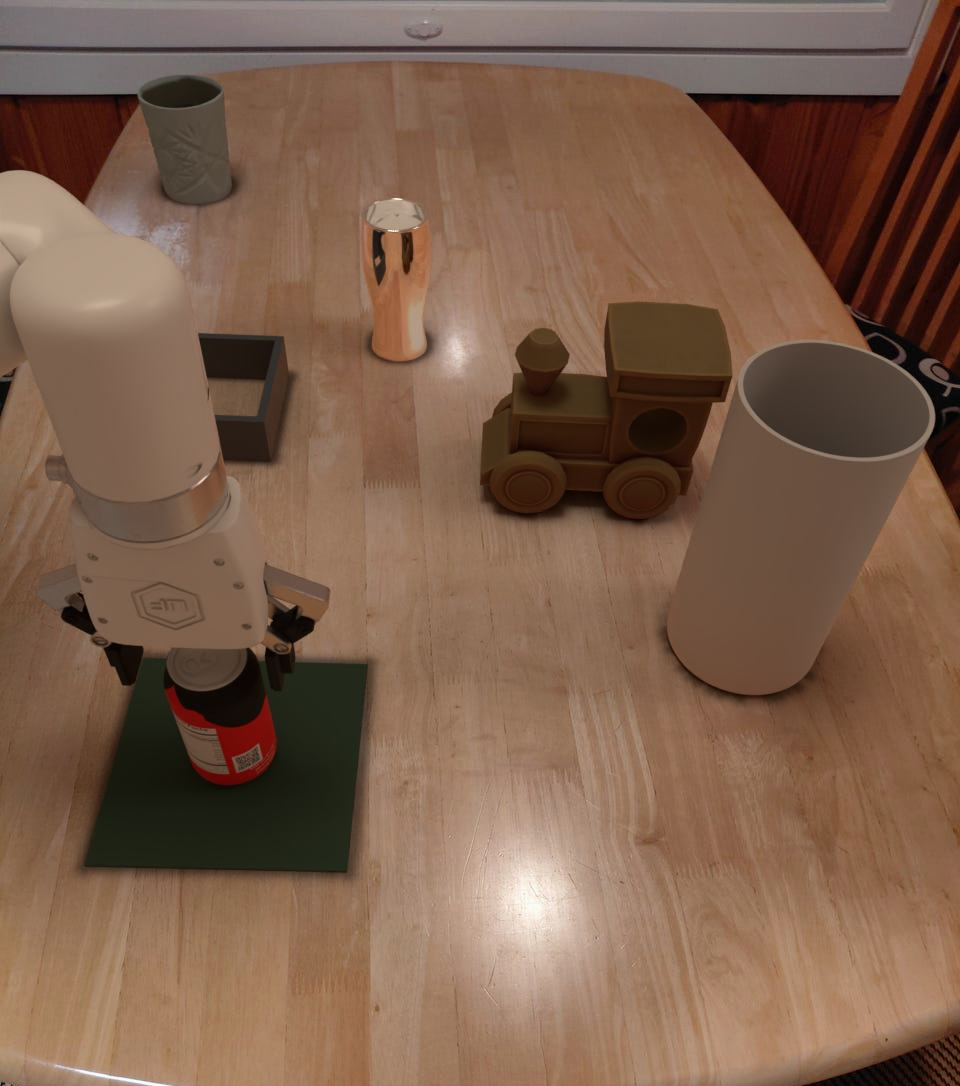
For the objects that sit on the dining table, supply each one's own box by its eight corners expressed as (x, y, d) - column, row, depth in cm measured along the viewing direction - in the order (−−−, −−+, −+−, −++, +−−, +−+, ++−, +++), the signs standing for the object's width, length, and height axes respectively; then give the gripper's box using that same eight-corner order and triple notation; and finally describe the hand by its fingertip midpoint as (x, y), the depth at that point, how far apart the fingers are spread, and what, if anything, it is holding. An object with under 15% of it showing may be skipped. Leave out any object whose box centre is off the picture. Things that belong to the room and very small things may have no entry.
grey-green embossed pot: (160, 210, 122) (137, 110, 112) (157, 172, 128) (135, 74, 118) (241, 204, 123) (226, 105, 114) (235, 167, 129) (220, 70, 120)
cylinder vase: (663, 577, 86) (732, 331, 66) (804, 592, 85) (915, 349, 66) (666, 691, 78) (744, 450, 58) (821, 707, 77) (953, 470, 58)
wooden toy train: (680, 448, 97) (719, 299, 84) (693, 529, 90) (737, 380, 77) (481, 438, 96) (489, 287, 83) (478, 518, 89) (486, 367, 76)
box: (129, 458, 93) (115, 416, 89) (159, 372, 101) (148, 330, 97) (271, 463, 93) (264, 421, 89) (289, 377, 101) (283, 335, 98)
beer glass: (380, 371, 103) (373, 237, 91) (358, 335, 107) (349, 203, 95) (440, 357, 105) (441, 224, 93) (417, 322, 109) (415, 191, 97)
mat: (85, 867, 66) (84, 865, 66) (144, 660, 78) (143, 657, 77) (347, 873, 67) (346, 871, 67) (367, 666, 78) (367, 663, 78)
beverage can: (293, 764, 72) (273, 668, 62) (215, 807, 69) (182, 713, 60) (254, 706, 75) (229, 606, 65) (178, 745, 72) (141, 646, 63)
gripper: (-39, 523, 48) (59, 713, 61) (310, 538, 49) (332, 723, 62) (7, 425, 53) (89, 622, 66) (325, 440, 53) (343, 632, 67)
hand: (207, 671), depth 64 cm, fingers open, 9 cm apart
